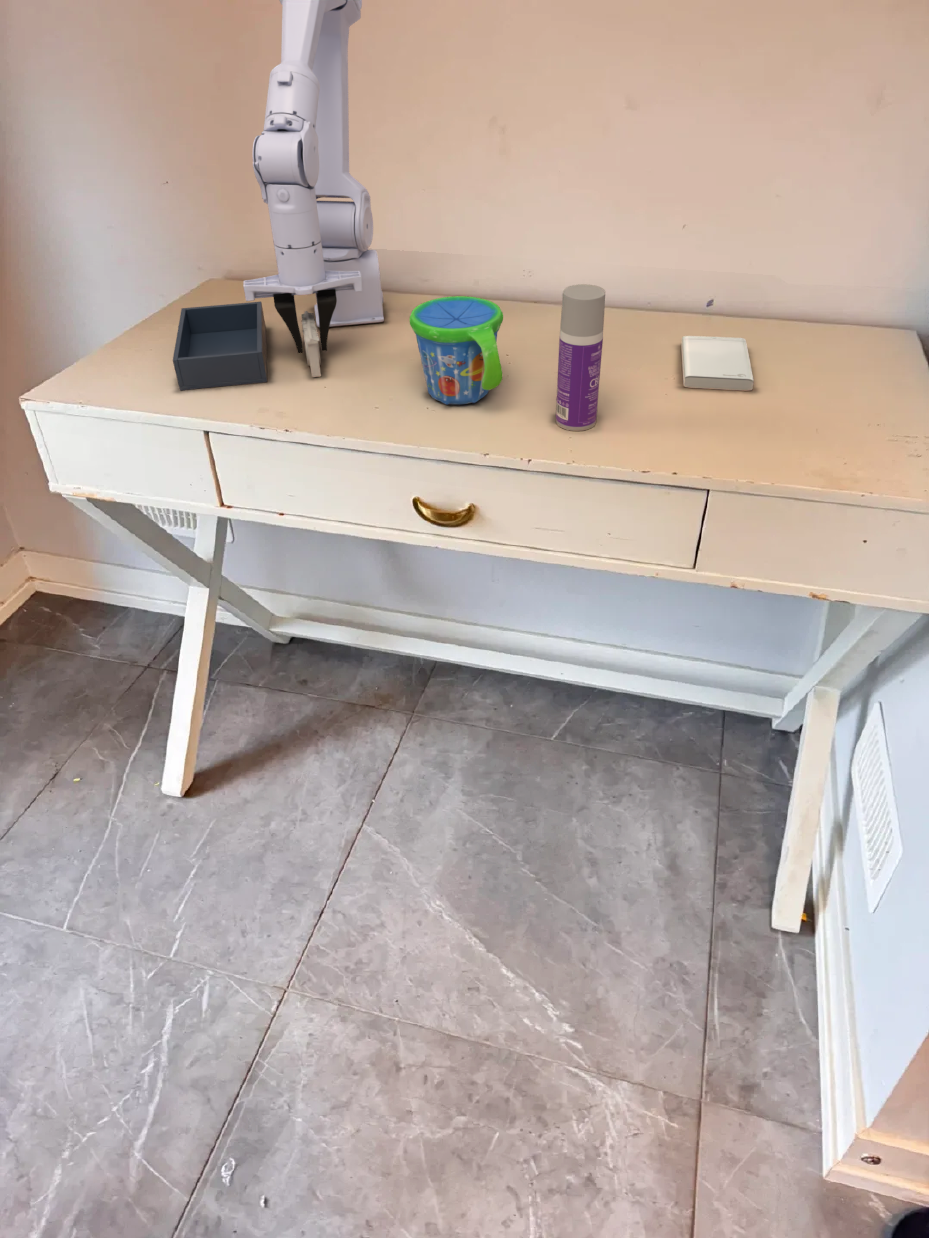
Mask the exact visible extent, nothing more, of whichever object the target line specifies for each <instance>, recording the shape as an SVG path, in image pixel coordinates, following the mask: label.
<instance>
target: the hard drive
mask: <svg viewBox="0 0 929 1238" xmlns="http://www.w3.org/2000/svg"><path fill="white" fill-rule="evenodd" d="M680 344H681V346H680V347H681V348H680V349H681V366H682V367H681V368H682V382H683V387H685V388H689V389H707V390H723V391H724V390H727V391H740V392H741V391H743V392H749V391H753V388H754V384H755V383H754V382H755V381H754V375H753V369H752V365H751V364H752V363H751V359H750V354H749V348H748V344H747V340H746V338H744V337H734V336H733V337H732V336H731V337H730V336H710V335H709V336H707V335H706V336H705V335H683V336H682V337H681V343H680Z"/></svg>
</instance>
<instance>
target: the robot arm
mask: <svg viewBox="0 0 929 1238" xmlns="http://www.w3.org/2000/svg"><path fill="white" fill-rule="evenodd" d="M278 1H279V4H280V5H281V6H282V11H281V17H282V18H281V48H280V49H281V50H280V63H279V64H277V65H276V66H274V67H273V68H272V69H271V71H270V72H269V79H268V86H267V87H268V88H267V95H266V96H267V97H266V103H265V104H266V105H265V113H264V121H263V131H261V133H260V134H259V135H256V136H255V138H254V139H253V143H252V151H251V152H252V154H251V155H252V168H253V174H254V176H255V179H256V182H257V183H258V185H259V188H260V192H261V199H262V200H263V203H265V204H266V205H267V208H268V215H269V222H270V228H271V234H272V241H273V248H274V254H275V262H276V267H277V274H273V275H268V276H264V277H259V278H258V277H257V278H252V279H245V280H243V282H242V284H243V285H242V287H243V292H244V298H245V301H246V302H255V300H256V299H265V298H273V305H274V308H275V311H276V312H277V314H278V315H279V316H280V317H281V319H282V321H283V322H284V324H285V325H286V327H287V329H288V331H289V333H290V335H291V338H292V339H293V341H294V344H295V347H296V352H297V354H304V346H303V338H302V335H301V330H300V325H299V321H298V315H297V308H296V300H295V296H309V295H313V294H315V300H316V304H314V305H313V309H314V317H315V324H316V328H319V342H320V348H321V352H327V351H328V337H329V330H330V327H343V326H352V325H363V324H365V325H366V324H374V323H376V324H377V323H383V322H384V321H385V318H384V317H385V316H384V307H383V304H384V294H383V289H382V283H381V272H380V263H379V256H378V252H377V250H376V249H370V247H371V245H372V242H373V237H374V219H373V218H374V217H373V212H372V205H371V203H372V202H371V195H370V192H369V191H368V189H367V188H366V187H365V186H364V185H363V184H362V183H361V182H360V181H359V180H357V179H356V178H355V177H354V176H353V175H351V173H350V124H349V123H350V121H349V120H350V119H349V118H350V117H349V113H350V111H349V37H350V27H351V26H353V25H355V23H357V22H358V21H360V19H361V18H362V16H361V15H362V11H361V9H362V5H363V0H278ZM320 198H326V199H327V198H330V199H351V200H352V201H349V200H348V201H347V200H345V201H344V200H343V201H342V200H318V199H320Z"/></svg>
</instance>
